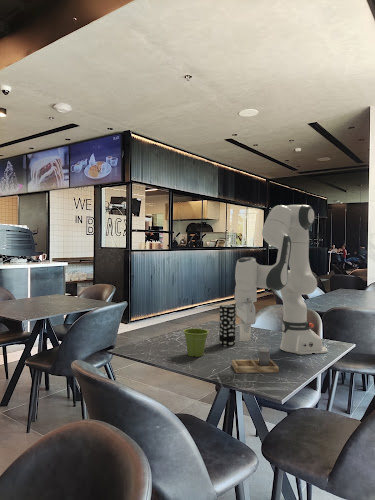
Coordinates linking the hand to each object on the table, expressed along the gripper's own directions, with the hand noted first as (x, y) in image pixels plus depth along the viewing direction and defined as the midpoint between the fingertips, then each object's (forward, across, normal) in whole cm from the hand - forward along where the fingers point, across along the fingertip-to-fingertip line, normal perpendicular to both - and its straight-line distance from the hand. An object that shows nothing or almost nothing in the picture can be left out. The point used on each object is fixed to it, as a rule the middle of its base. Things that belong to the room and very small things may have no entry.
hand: (245, 330), depth 154 cm
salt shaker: (+4, 0, 0) cm, 4 cm away
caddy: (+16, 0, -4) cm, 17 cm away
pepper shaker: (+15, 0, -8) cm, 17 cm away
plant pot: (+17, +23, +18) cm, 34 cm away
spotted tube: (+17, +41, 0) cm, 44 cm away
